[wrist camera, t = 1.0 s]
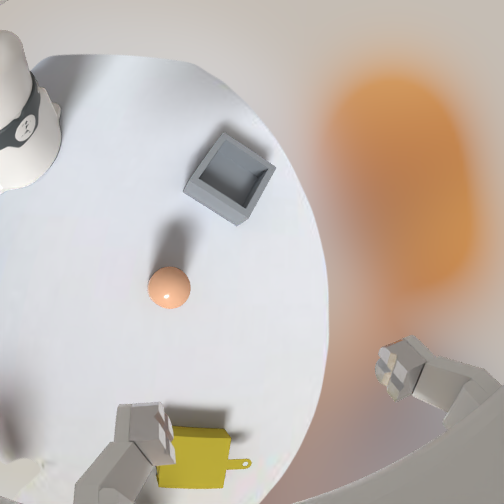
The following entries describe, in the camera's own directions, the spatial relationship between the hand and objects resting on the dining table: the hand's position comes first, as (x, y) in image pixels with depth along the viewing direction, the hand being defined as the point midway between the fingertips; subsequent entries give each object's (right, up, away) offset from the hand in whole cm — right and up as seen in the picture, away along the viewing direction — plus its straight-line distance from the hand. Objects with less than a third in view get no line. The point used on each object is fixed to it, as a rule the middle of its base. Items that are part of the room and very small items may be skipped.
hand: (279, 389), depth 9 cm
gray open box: (-5, +16, +37) cm, 41 cm away
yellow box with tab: (-9, -28, +29) cm, 42 cm away
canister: (-13, -1, +31) cm, 34 cm away
